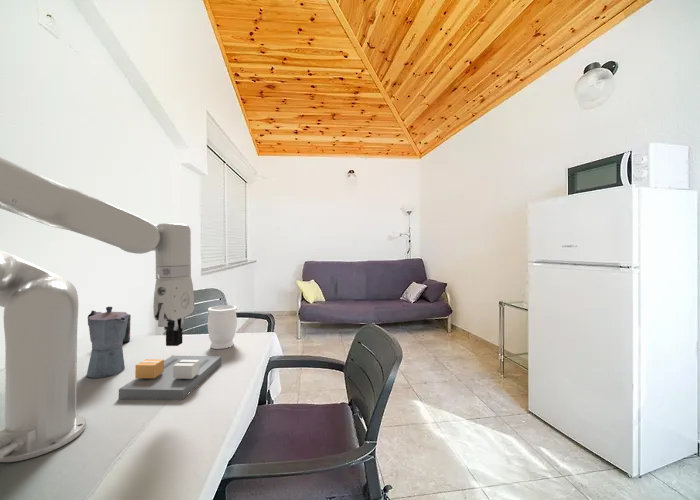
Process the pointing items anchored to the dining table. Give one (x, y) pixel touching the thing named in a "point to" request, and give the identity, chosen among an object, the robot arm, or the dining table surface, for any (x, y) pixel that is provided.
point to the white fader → (186, 369)
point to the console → (169, 380)
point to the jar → (222, 326)
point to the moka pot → (106, 342)
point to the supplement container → (127, 331)
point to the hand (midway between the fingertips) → (174, 344)
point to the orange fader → (149, 368)
